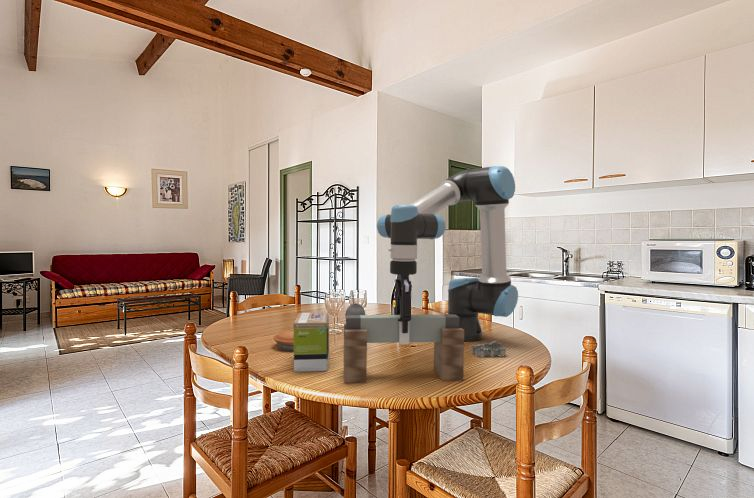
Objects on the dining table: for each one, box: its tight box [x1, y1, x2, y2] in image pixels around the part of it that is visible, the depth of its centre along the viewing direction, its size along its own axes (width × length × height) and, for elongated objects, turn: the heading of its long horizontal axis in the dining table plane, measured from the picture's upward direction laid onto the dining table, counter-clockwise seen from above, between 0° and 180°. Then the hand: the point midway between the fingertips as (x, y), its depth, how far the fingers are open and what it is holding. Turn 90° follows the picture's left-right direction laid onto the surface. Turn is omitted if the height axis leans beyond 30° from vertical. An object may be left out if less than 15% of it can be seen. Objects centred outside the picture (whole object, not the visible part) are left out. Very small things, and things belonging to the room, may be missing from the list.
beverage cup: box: [344, 290, 367, 317], centre depth 145 cm, size 7×7×20 cm
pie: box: [272, 329, 294, 352], centre depth 147 cm, size 15×16×5 cm
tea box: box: [292, 311, 330, 373], centre depth 127 cm, size 15×10×15 cm, turn 5°
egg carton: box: [470, 340, 507, 358], centre depth 140 cm, size 11×8×4 cm
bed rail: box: [345, 313, 459, 344], centre depth 118 cm, size 32×4×7 cm, turn 96°
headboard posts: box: [343, 322, 465, 384], centre depth 118 cm, size 33×10×14 cm, turn 96°
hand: (402, 340), depth 118 cm, fingers open, 6 cm apart
